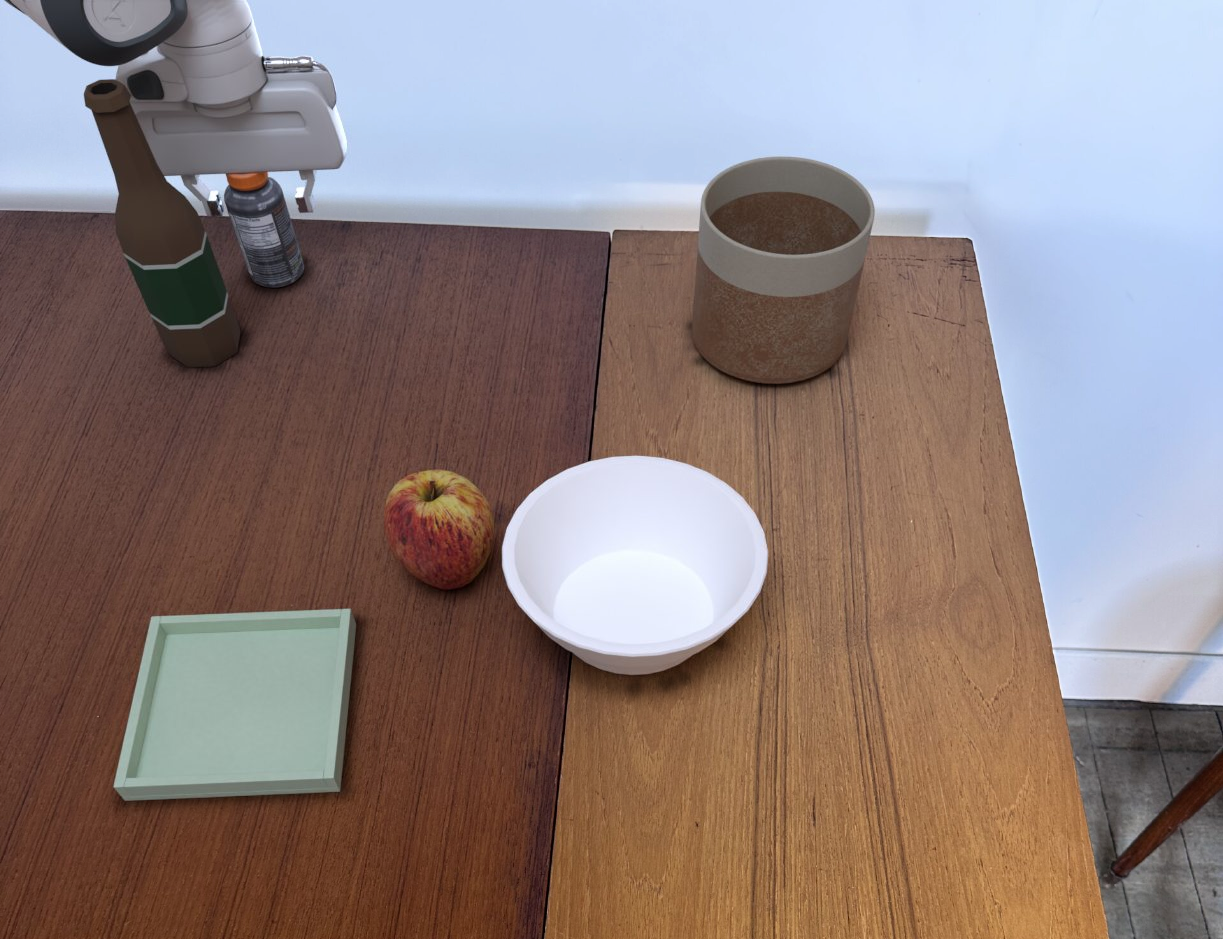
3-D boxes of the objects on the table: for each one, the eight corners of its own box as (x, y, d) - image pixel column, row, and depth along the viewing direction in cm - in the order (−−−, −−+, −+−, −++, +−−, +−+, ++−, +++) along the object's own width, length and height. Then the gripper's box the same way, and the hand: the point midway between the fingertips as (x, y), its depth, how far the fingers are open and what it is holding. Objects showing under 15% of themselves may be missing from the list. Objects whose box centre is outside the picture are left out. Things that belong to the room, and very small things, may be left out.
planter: (659, 335, 105) (665, 200, 93) (765, 272, 110) (783, 136, 98) (771, 412, 99) (792, 279, 87) (877, 341, 104) (911, 206, 92)
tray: (124, 801, 78) (112, 787, 76) (161, 632, 86) (151, 616, 84) (340, 791, 78) (333, 777, 77) (356, 624, 86) (350, 608, 85)
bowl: (782, 698, 83) (798, 633, 75) (526, 734, 81) (518, 671, 74) (726, 512, 93) (735, 440, 85) (497, 541, 91) (487, 470, 84)
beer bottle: (220, 377, 102) (118, 119, 81) (153, 361, 103) (35, 102, 82) (257, 330, 106) (168, 71, 85) (192, 315, 107) (88, 56, 86)
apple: (379, 592, 88) (352, 506, 79) (425, 521, 92) (405, 432, 83) (473, 622, 87) (457, 537, 78) (516, 548, 91) (505, 460, 82)
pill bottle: (277, 249, 112) (244, 140, 102) (316, 268, 111) (287, 159, 101) (238, 276, 110) (201, 168, 100) (277, 296, 108) (243, 187, 98)
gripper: (330, 37, 94) (364, 189, 106) (110, 46, 94) (169, 197, 106) (324, 73, 91) (360, 225, 103) (96, 82, 91) (159, 233, 103)
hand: (262, 211), depth 105 cm, fingers open, 8 cm apart
